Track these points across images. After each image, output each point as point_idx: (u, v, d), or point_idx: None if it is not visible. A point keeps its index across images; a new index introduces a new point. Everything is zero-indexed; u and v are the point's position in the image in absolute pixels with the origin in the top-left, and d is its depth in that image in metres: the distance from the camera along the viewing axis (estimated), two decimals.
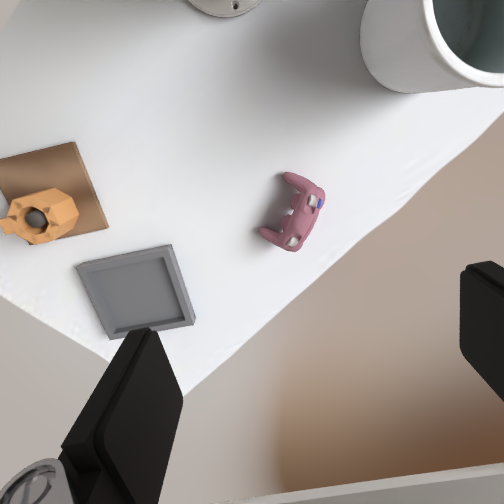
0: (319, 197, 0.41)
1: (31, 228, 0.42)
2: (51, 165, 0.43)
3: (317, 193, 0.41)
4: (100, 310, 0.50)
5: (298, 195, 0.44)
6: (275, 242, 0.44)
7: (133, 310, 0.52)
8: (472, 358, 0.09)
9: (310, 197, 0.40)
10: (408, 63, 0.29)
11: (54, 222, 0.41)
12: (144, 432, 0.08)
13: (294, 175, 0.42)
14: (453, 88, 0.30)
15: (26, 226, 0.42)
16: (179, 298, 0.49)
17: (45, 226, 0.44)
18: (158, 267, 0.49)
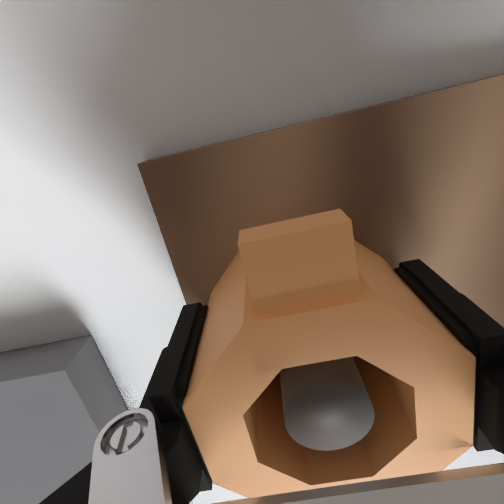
0: None
1: None
2: None
3: None
4: None
5: None
6: None
7: None
8: None
9: None
10: None
11: None
12: None
13: None
14: None
15: None
16: None
17: None
18: None
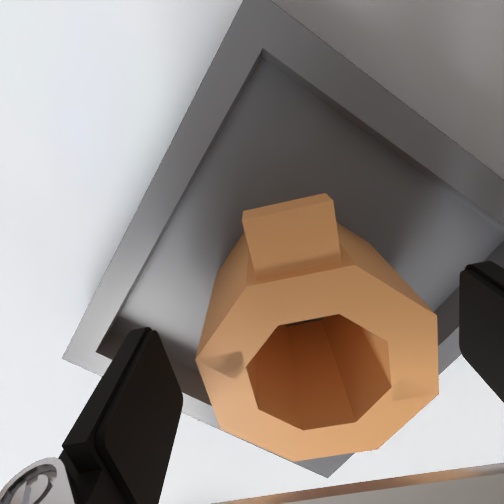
0: None
1: None
2: None
3: None
4: (396, 131, 0.10)
5: None
6: None
7: None
8: (471, 358, 0.09)
9: None
10: None
11: (304, 446, 0.09)
12: (145, 432, 0.08)
13: None
14: None
15: None
16: (183, 397, 0.14)
17: None
18: None
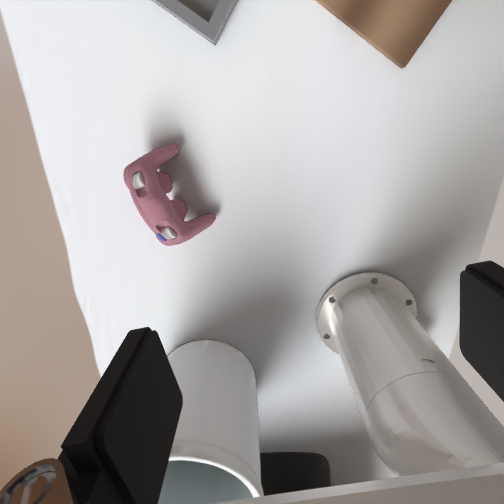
0: (167, 241, 0.34)
1: None
2: (415, 11, 0.30)
3: (173, 241, 0.34)
4: None
5: (183, 214, 0.37)
6: (151, 158, 0.32)
7: None
8: (472, 358, 0.09)
9: (174, 235, 0.33)
10: (189, 403, 0.34)
11: None
12: (144, 432, 0.08)
13: None
14: None
15: None
16: None
17: None
18: None
